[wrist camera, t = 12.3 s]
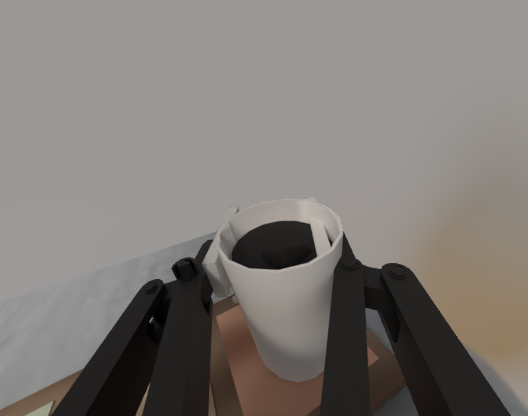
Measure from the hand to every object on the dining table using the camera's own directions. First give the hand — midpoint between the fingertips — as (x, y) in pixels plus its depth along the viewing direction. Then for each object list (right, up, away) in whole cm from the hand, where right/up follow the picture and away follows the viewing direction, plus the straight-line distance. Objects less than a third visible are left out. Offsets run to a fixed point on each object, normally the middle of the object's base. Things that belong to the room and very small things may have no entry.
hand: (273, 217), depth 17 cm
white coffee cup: (+2, -9, -1) cm, 9 cm away
